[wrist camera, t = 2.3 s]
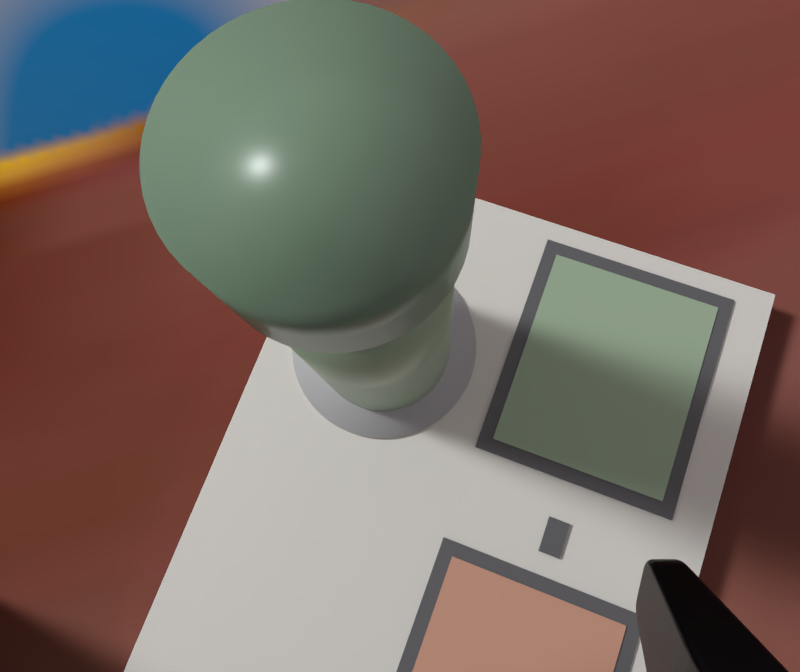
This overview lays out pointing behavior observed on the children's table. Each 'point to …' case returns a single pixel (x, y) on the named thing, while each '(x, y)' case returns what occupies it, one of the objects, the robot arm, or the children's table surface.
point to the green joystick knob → (322, 187)
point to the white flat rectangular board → (474, 477)
